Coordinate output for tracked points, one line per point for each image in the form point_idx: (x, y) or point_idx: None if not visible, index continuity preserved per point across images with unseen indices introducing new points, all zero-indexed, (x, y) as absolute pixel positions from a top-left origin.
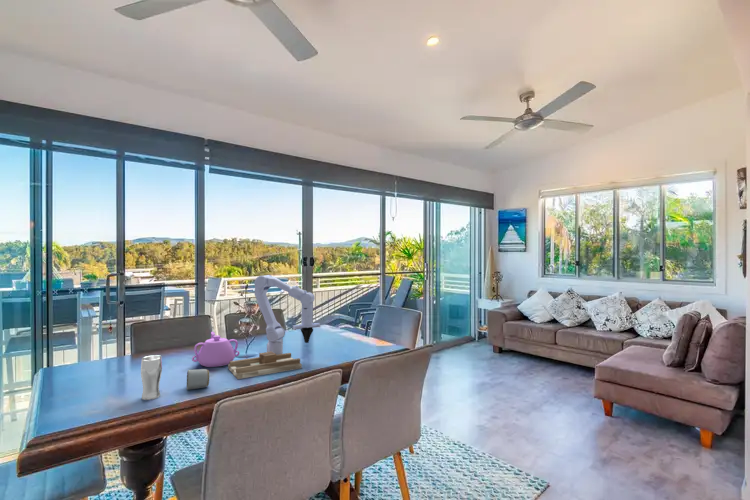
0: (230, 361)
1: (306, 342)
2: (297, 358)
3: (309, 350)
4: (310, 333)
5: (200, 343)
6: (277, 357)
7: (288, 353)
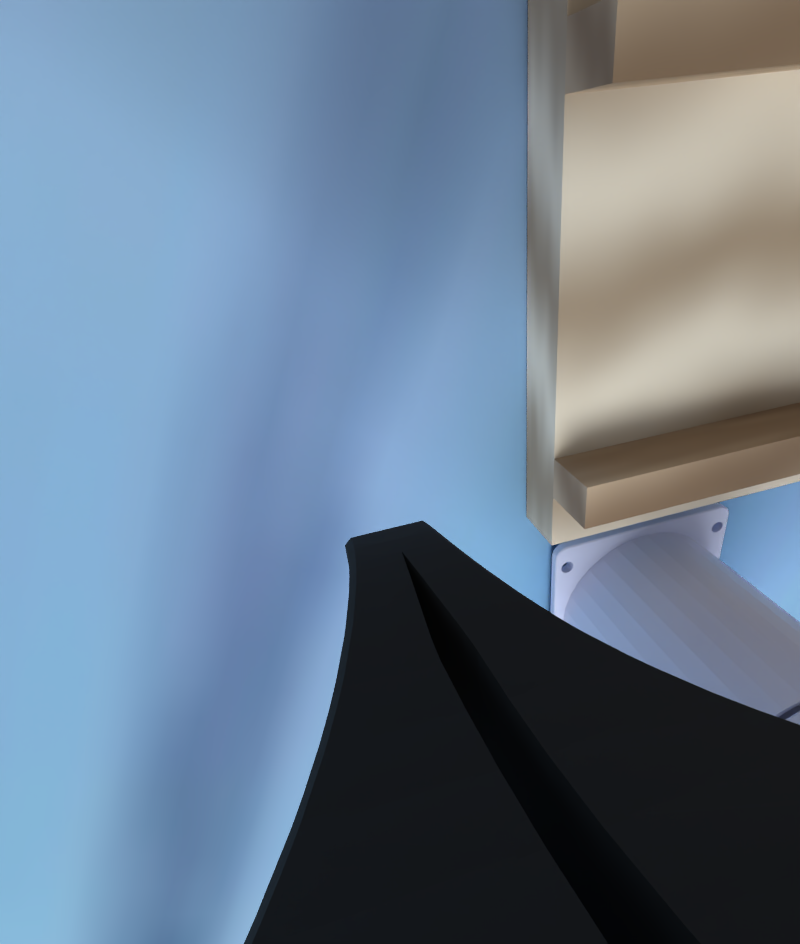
0: None
1: (422, 526)
2: (647, 75)
3: (163, 818)
4: (373, 805)
5: None
6: (765, 425)
7: (624, 493)
